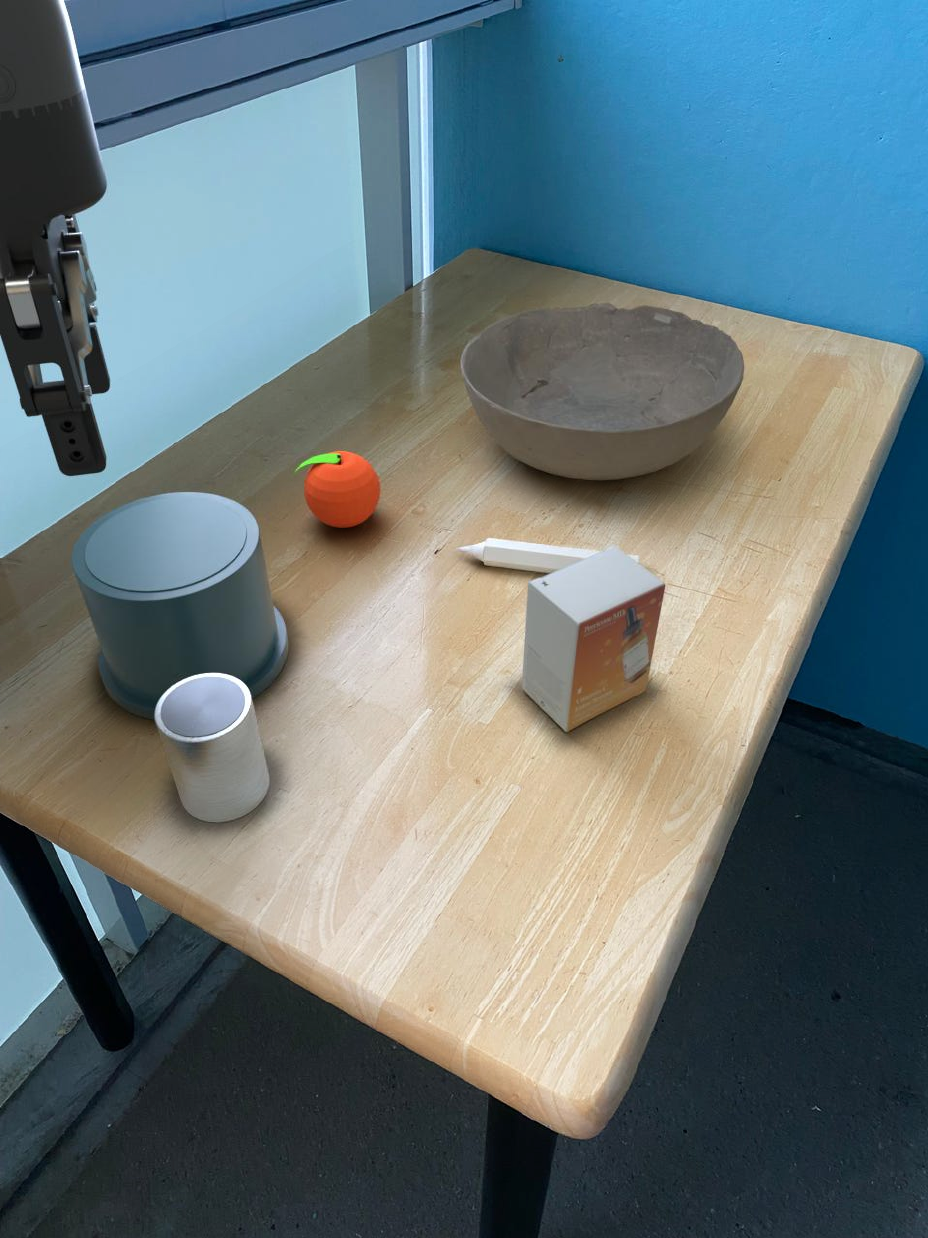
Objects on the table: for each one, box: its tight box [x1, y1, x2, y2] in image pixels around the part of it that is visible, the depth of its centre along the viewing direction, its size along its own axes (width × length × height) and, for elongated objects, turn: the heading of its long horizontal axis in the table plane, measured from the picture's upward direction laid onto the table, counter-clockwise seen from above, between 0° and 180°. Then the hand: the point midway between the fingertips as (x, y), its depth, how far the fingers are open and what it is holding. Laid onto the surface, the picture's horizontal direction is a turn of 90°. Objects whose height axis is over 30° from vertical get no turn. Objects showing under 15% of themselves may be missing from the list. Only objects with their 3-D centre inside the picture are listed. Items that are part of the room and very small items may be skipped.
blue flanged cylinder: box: [71, 491, 290, 721], centre depth 70 cm, size 14×14×11 cm
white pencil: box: [454, 537, 640, 574], centre depth 81 cm, size 3×2×16 cm
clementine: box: [291, 450, 381, 529], centre depth 85 cm, size 8×7×7 cm
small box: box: [521, 544, 666, 733], centre depth 67 cm, size 8×6×10 cm
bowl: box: [460, 302, 745, 481], centre depth 95 cm, size 28×28×10 cm
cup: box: [154, 673, 271, 823], centre depth 61 cm, size 6×6×8 cm
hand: (88, 429), depth 49 cm, fingers open, 8 cm apart
